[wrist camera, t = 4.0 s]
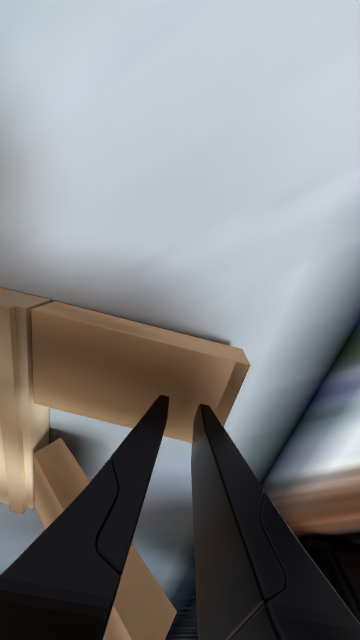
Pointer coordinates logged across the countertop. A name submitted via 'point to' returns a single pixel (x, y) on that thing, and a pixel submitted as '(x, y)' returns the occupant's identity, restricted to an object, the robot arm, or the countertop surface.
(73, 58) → the countertop surface
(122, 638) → the inner oak plank
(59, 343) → the outer oak plank
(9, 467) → the pine floorboard strip
